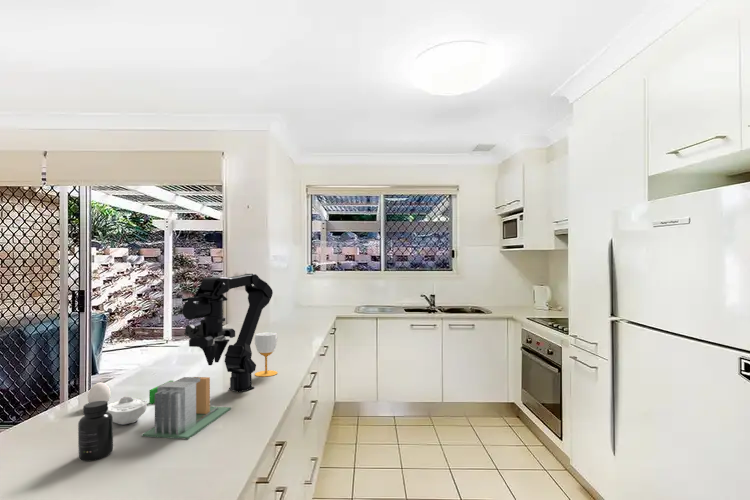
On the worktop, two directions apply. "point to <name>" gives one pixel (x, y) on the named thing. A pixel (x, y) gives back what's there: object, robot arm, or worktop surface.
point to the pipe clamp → (152, 395)
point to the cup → (266, 349)
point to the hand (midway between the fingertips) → (213, 363)
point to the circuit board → (193, 430)
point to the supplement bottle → (95, 432)
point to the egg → (99, 393)
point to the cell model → (127, 410)
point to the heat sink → (177, 406)
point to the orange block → (203, 395)
